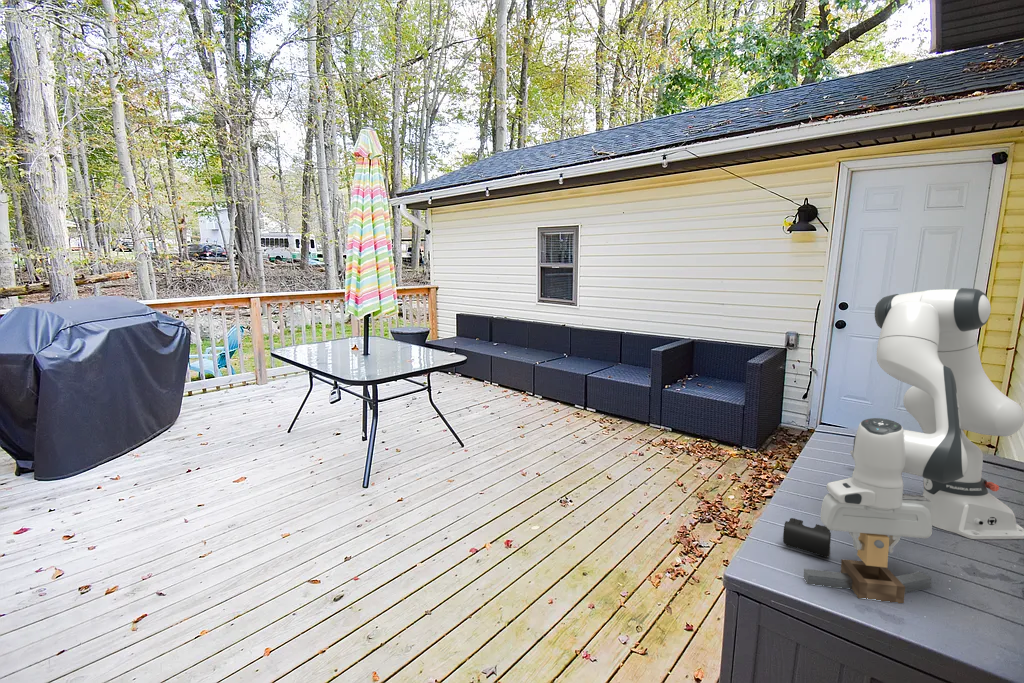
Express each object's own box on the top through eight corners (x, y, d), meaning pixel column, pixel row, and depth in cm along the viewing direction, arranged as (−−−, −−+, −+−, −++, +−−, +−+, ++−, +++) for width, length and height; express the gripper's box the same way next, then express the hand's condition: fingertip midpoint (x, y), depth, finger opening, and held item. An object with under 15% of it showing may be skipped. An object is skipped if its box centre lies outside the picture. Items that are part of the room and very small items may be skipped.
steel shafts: (924, 581, 103) (924, 572, 103) (942, 599, 98) (943, 589, 97) (797, 568, 110) (797, 559, 110) (807, 584, 104) (807, 575, 104)
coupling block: (875, 555, 103) (877, 527, 102) (888, 569, 98) (890, 539, 97) (855, 553, 104) (857, 525, 103) (867, 567, 99) (869, 537, 98)
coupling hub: (881, 578, 105) (882, 563, 104) (903, 603, 97) (905, 586, 96) (840, 574, 107) (841, 559, 107) (858, 598, 99) (859, 582, 98)
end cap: (782, 549, 118) (783, 525, 117) (786, 537, 123) (787, 514, 122) (828, 563, 111) (829, 538, 111) (831, 550, 117) (832, 526, 116)
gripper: (922, 489, 100) (918, 547, 101) (819, 482, 105) (816, 537, 106) (942, 502, 94) (936, 563, 95) (831, 495, 99) (828, 553, 100)
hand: (872, 550), depth 101 cm, fingers closed on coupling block, 4 cm apart
